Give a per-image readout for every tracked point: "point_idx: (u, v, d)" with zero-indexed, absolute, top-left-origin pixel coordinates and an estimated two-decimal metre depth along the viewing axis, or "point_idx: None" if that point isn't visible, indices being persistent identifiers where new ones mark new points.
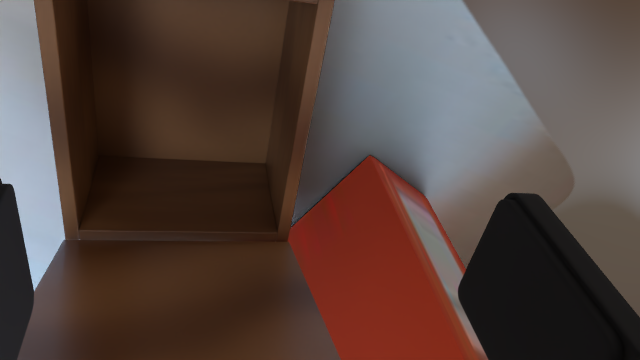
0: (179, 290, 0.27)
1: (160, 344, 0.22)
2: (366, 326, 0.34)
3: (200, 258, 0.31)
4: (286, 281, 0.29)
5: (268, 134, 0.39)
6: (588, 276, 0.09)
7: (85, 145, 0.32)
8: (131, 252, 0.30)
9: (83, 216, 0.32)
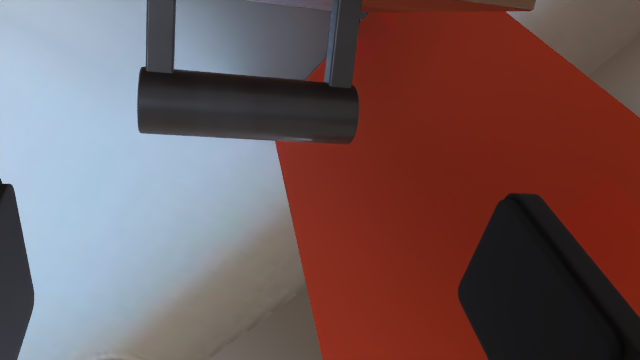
0: None
1: None
2: (441, 92, 0.29)
3: None
4: None
5: None
6: (588, 276, 0.09)
7: None
8: None
9: None
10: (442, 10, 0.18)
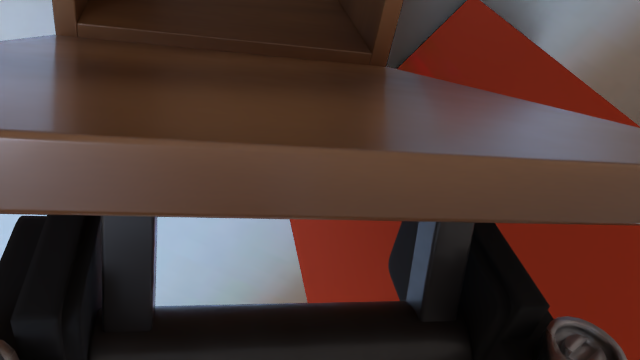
0: (249, 64, 0.16)
1: (240, 79, 0.11)
2: None
3: (268, 59, 0.19)
4: (416, 78, 0.18)
5: None
6: (488, 239, 0.09)
7: None
8: (160, 47, 0.19)
9: (84, 11, 0.21)
10: None
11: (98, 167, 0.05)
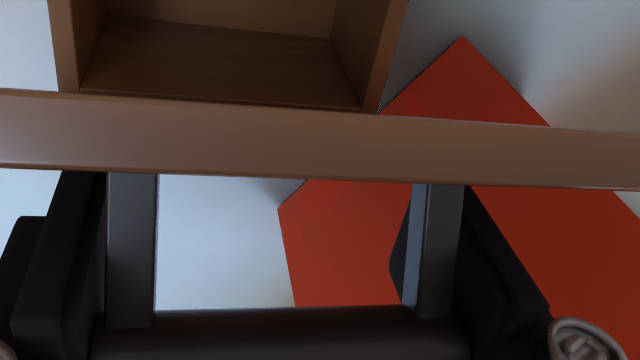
0: None
1: None
2: None
3: None
4: None
5: None
6: (488, 239, 0.09)
7: None
8: None
9: (86, 73, 0.22)
10: None
11: (108, 124, 0.05)
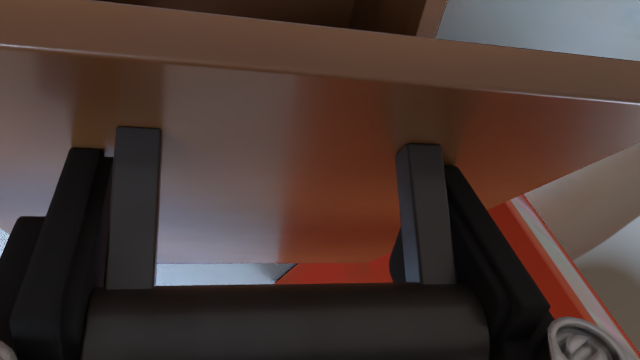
0: None
1: None
2: None
3: None
4: None
5: None
6: (488, 239, 0.09)
7: None
8: None
9: None
10: (529, 185, 0.13)
11: (126, 21, 0.07)
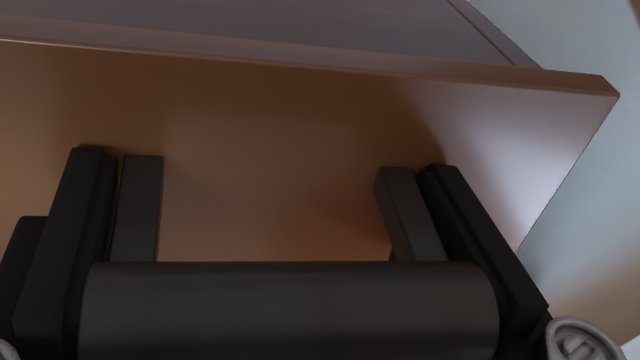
0: None
1: None
2: None
3: None
4: None
5: None
6: (487, 239, 0.09)
7: None
8: None
9: None
10: (510, 241, 0.13)
11: (141, 34, 0.09)
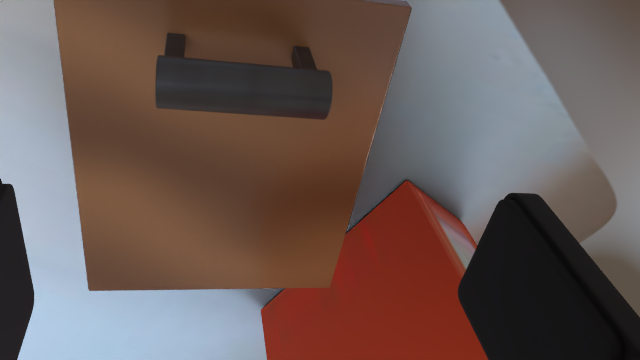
0: None
1: None
2: None
3: None
4: None
5: None
6: (588, 276, 0.09)
7: None
8: None
9: None
10: (376, 102, 0.24)
11: None
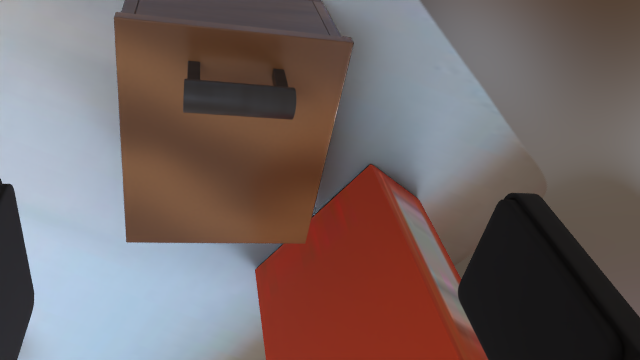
0: None
1: None
2: (368, 304, 0.42)
3: None
4: None
5: None
6: (588, 276, 0.09)
7: None
8: None
9: None
10: (332, 106, 0.34)
11: (195, 22, 0.30)
